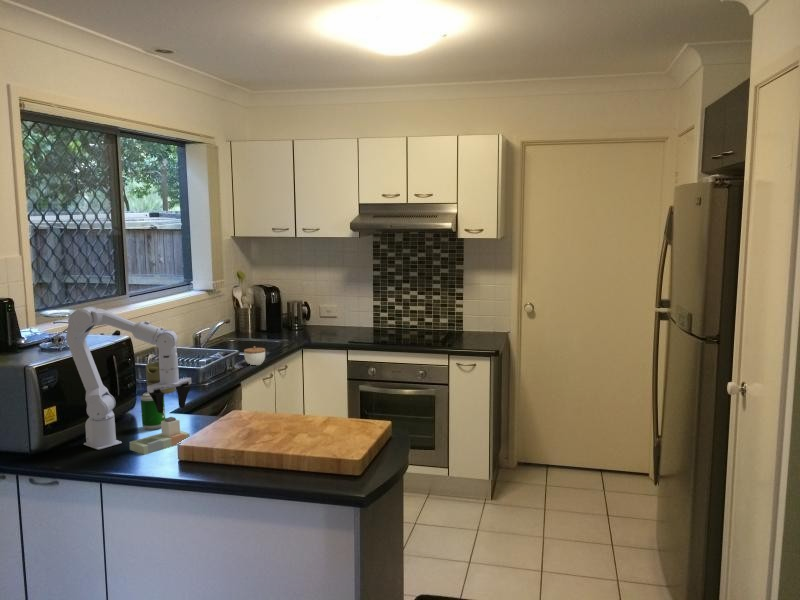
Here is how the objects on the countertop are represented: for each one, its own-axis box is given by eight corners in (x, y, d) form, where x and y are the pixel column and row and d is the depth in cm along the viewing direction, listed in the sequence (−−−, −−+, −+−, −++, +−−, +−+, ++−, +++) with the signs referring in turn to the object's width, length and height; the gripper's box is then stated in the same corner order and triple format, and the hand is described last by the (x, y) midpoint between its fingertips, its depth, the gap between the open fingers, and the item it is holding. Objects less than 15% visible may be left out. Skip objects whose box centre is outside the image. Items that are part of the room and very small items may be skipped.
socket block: (129, 449, 207) (129, 441, 206) (175, 436, 219) (175, 428, 219) (144, 454, 202) (143, 445, 201) (190, 441, 214) (189, 432, 214)
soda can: (161, 430, 227) (159, 395, 226) (139, 431, 227) (136, 396, 226) (168, 424, 234) (166, 390, 233) (147, 424, 234) (145, 391, 233)
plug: (162, 442, 213) (160, 418, 212) (173, 439, 216) (171, 415, 216) (169, 444, 211) (168, 420, 210) (180, 441, 214) (179, 417, 213)
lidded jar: (269, 364, 338) (268, 346, 337) (248, 367, 332) (247, 348, 331) (261, 361, 347) (260, 343, 346) (241, 364, 341) (240, 346, 340)
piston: (162, 367, 276) (139, 366, 280) (164, 395, 278) (141, 394, 281) (179, 361, 287) (157, 360, 291) (180, 389, 288) (159, 388, 292)
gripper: (154, 373, 205) (157, 417, 206) (195, 365, 216) (198, 406, 218) (142, 371, 210) (145, 413, 211) (183, 363, 221) (185, 403, 222)
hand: (171, 410), depth 215 cm, fingers open, 7 cm apart
